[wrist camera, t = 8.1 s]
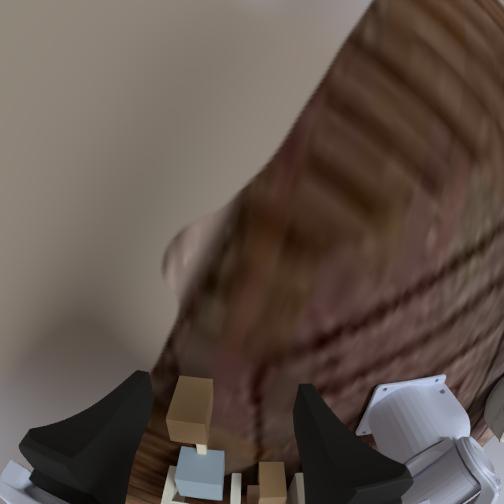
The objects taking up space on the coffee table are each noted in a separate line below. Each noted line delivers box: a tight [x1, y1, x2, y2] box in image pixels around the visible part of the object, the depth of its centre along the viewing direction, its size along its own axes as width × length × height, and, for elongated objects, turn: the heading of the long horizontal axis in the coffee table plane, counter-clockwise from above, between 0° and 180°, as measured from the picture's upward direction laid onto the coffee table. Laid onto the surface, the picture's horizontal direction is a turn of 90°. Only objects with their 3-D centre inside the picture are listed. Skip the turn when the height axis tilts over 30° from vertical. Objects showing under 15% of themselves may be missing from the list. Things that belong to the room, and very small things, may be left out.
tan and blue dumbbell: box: [166, 376, 225, 500], centre depth 23 cm, size 5×17×6 cm, turn 177°
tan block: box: [246, 462, 287, 504], centre depth 26 cm, size 5×12×6 cm, turn 176°
